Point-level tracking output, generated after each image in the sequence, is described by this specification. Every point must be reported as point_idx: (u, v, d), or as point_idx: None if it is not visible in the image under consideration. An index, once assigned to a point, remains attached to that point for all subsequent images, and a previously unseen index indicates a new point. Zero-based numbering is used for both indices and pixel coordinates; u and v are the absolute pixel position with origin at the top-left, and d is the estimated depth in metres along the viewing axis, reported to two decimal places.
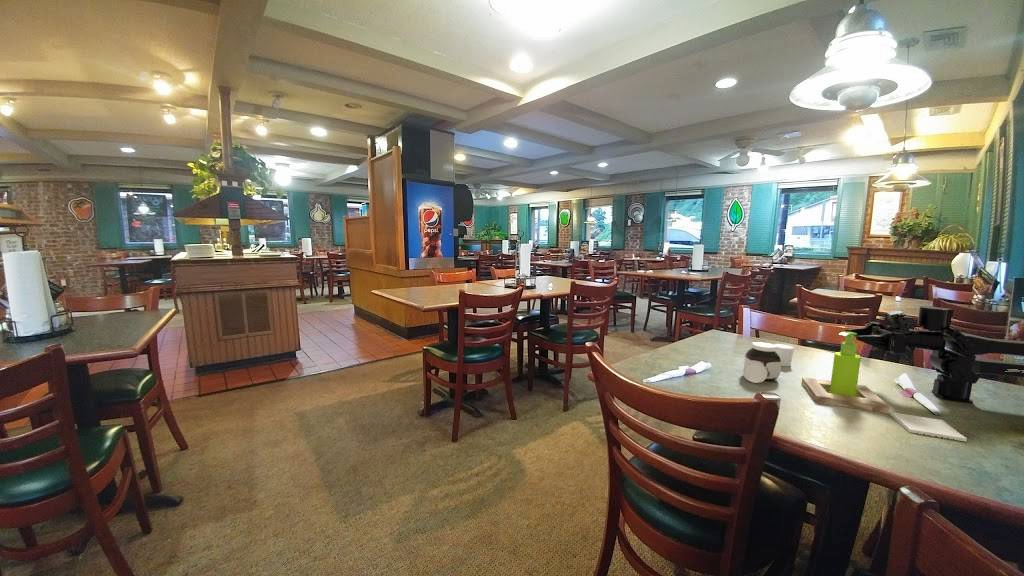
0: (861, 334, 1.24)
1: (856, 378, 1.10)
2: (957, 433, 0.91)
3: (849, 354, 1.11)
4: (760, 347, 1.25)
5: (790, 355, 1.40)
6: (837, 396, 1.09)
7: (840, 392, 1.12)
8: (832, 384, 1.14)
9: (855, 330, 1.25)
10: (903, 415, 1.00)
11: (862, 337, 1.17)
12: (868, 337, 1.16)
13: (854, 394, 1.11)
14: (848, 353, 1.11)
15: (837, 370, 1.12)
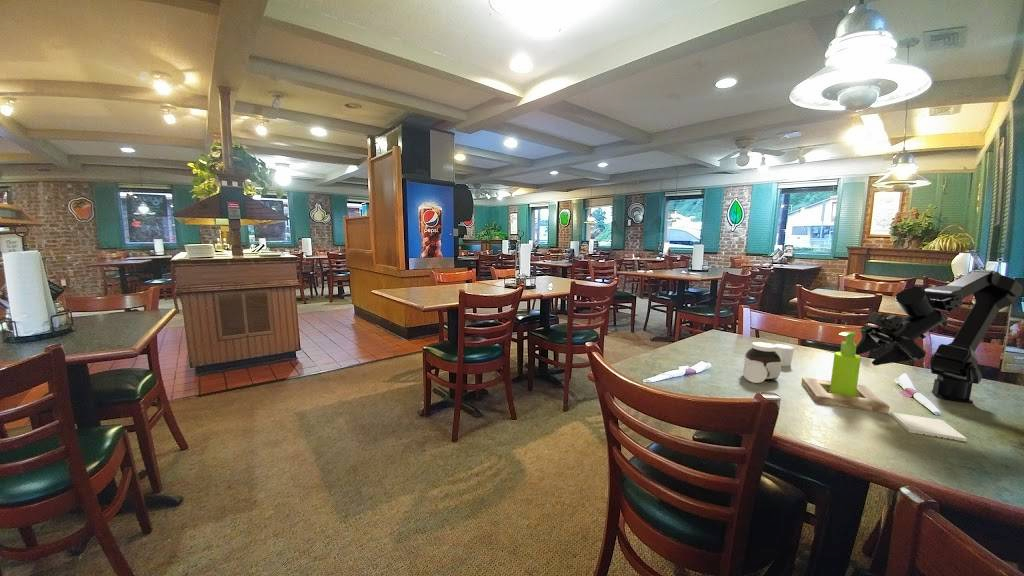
0: (868, 347, 1.14)
1: (856, 378, 1.10)
2: (957, 433, 0.91)
3: (849, 354, 1.11)
4: (760, 347, 1.25)
5: (790, 355, 1.40)
6: (837, 396, 1.09)
7: (840, 392, 1.12)
8: (832, 384, 1.14)
9: (860, 347, 1.15)
10: (903, 415, 1.00)
11: (877, 361, 1.06)
12: (882, 357, 1.05)
13: (854, 394, 1.11)
14: (848, 353, 1.11)
15: (837, 370, 1.12)
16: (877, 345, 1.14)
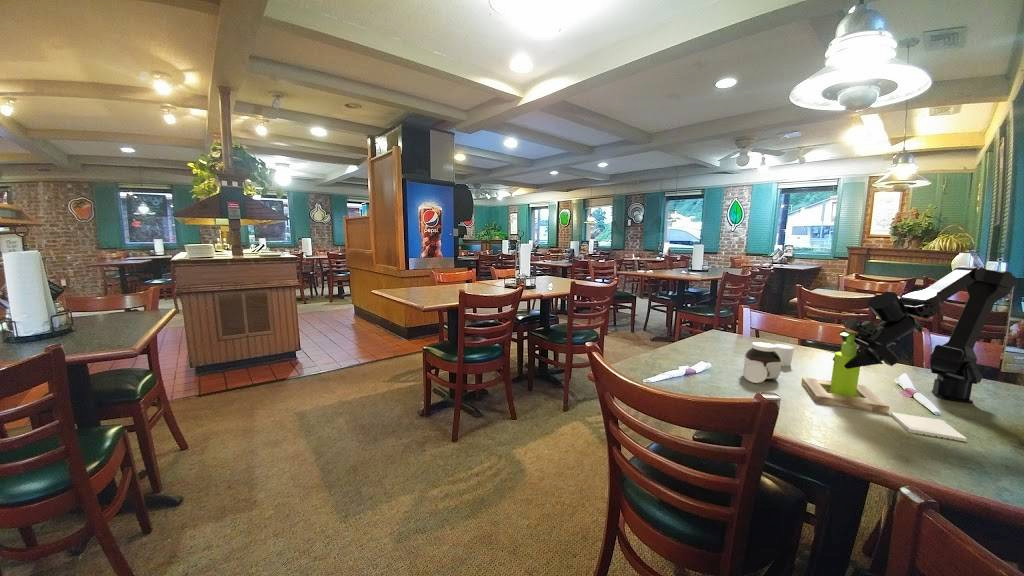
0: None
1: (856, 378, 1.10)
2: (957, 433, 0.91)
3: (850, 354, 1.10)
4: (760, 347, 1.25)
5: (790, 355, 1.39)
6: (837, 396, 1.09)
7: (841, 392, 1.12)
8: (832, 384, 1.14)
9: None
10: (903, 415, 1.00)
11: (849, 364, 1.09)
12: (854, 361, 1.08)
13: (854, 394, 1.11)
14: (849, 353, 1.10)
15: (838, 370, 1.12)
16: (857, 351, 1.14)
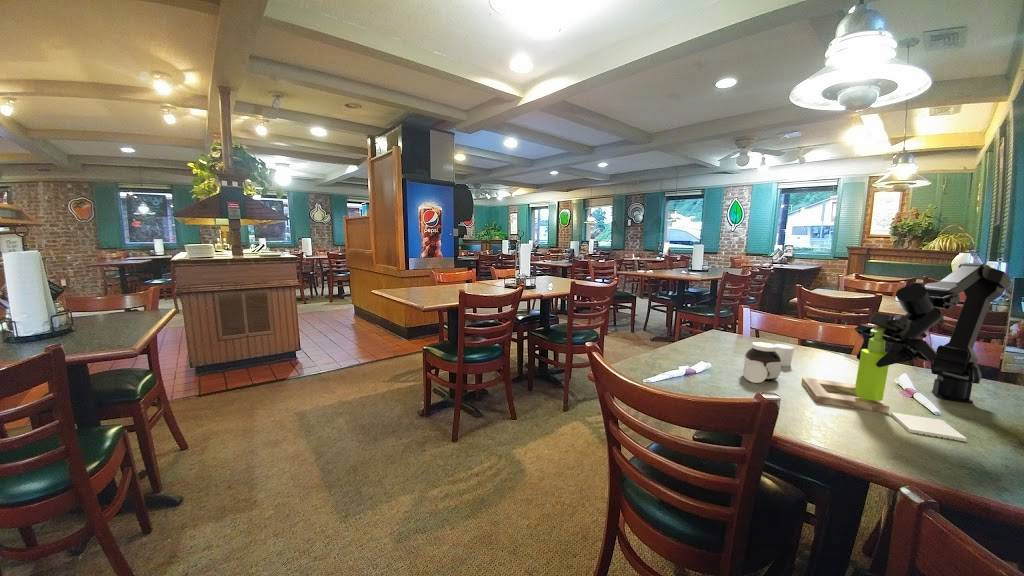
0: None
1: (886, 376, 1.03)
2: (957, 433, 0.91)
3: (879, 351, 1.03)
4: (760, 347, 1.25)
5: (790, 355, 1.39)
6: (837, 396, 1.09)
7: (871, 392, 1.04)
8: (860, 384, 1.06)
9: None
10: (903, 415, 1.00)
11: (882, 362, 1.01)
12: (887, 359, 1.01)
13: (883, 393, 1.04)
14: (879, 350, 1.03)
15: (867, 369, 1.04)
16: None
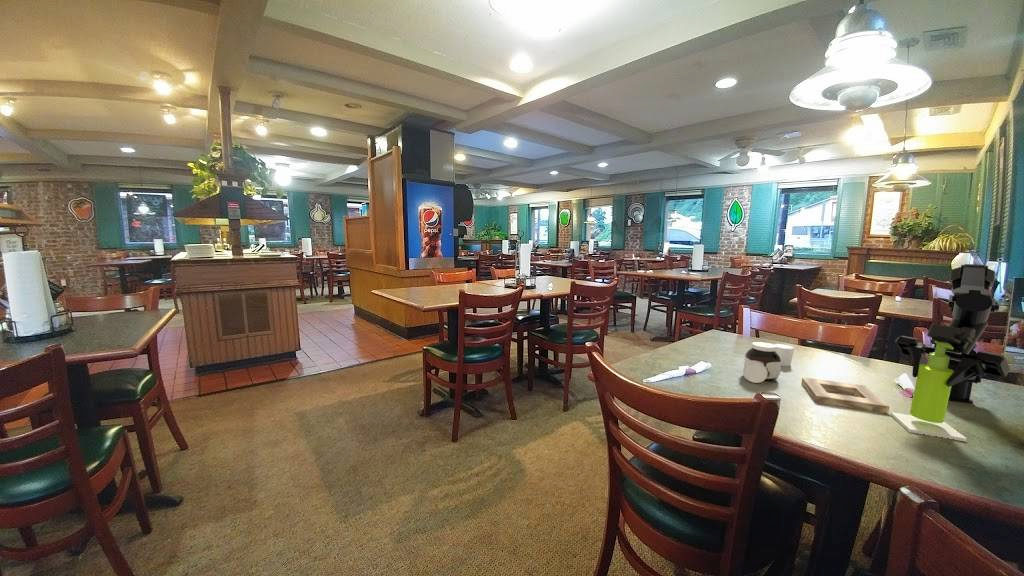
0: None
1: None
2: (957, 433, 0.91)
3: (945, 368, 0.92)
4: (760, 347, 1.25)
5: (790, 355, 1.39)
6: (837, 396, 1.09)
7: (937, 414, 0.93)
8: (923, 406, 0.94)
9: (918, 367, 0.97)
10: (903, 415, 1.00)
11: (953, 381, 0.90)
12: (957, 377, 0.90)
13: None
14: (945, 367, 0.92)
15: (934, 389, 0.92)
16: (926, 361, 0.98)
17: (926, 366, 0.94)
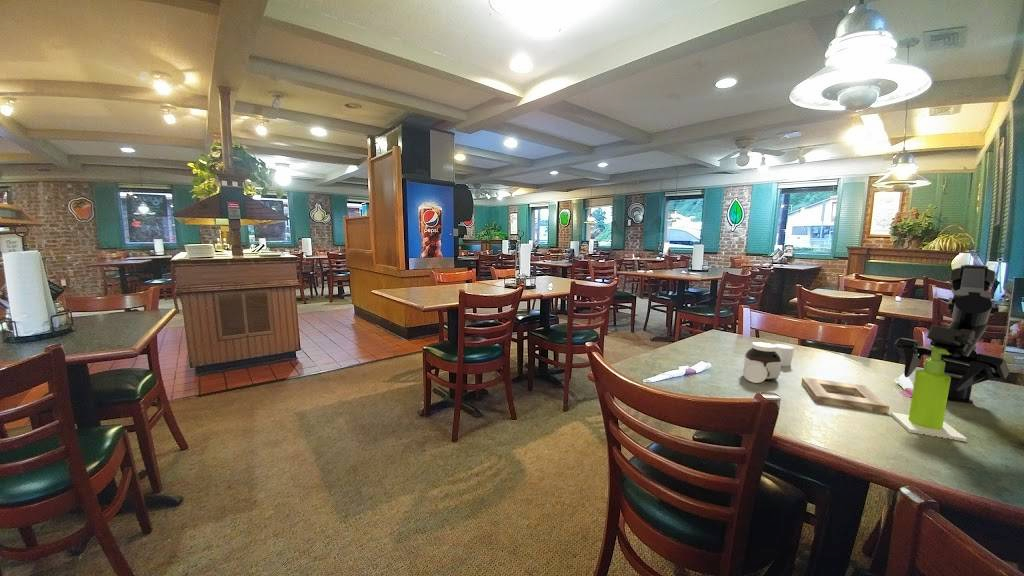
0: (914, 365, 0.99)
1: None
2: (957, 433, 0.91)
3: (942, 374, 0.93)
4: (760, 347, 1.25)
5: (790, 355, 1.39)
6: (837, 396, 1.09)
7: (936, 420, 0.93)
8: (922, 412, 0.95)
9: (910, 367, 0.98)
10: (903, 415, 1.00)
11: (962, 385, 0.89)
12: (967, 381, 0.89)
13: None
14: (941, 372, 0.93)
15: (931, 394, 0.93)
16: (918, 361, 1.00)
17: (923, 372, 0.95)
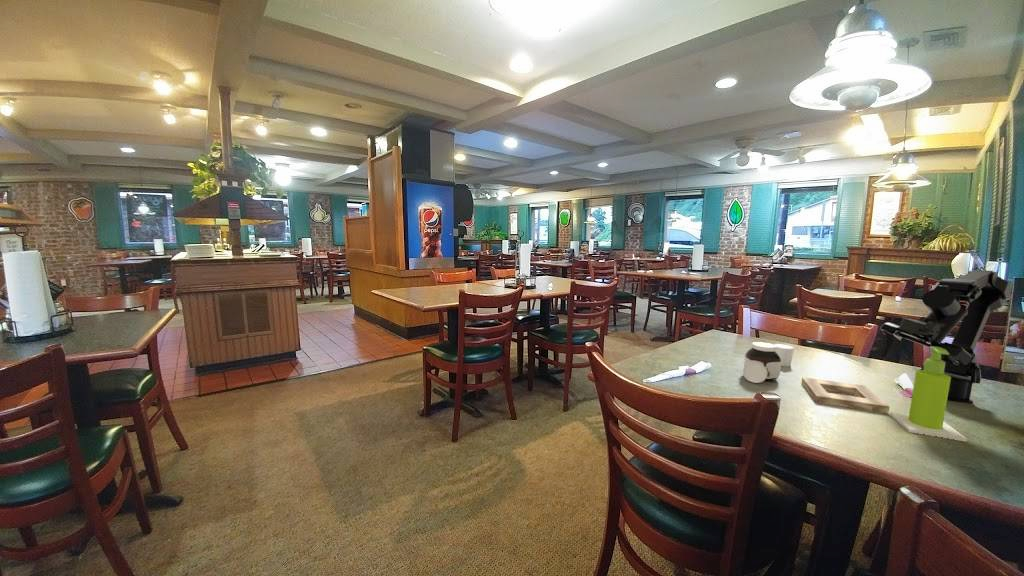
0: (895, 347, 1.11)
1: None
2: (957, 433, 0.91)
3: (941, 374, 0.93)
4: (760, 347, 1.25)
5: (790, 355, 1.39)
6: (837, 396, 1.09)
7: (936, 420, 0.93)
8: (922, 412, 0.95)
9: (889, 351, 1.11)
10: (903, 415, 1.00)
11: None
12: None
13: None
14: (941, 372, 0.93)
15: (931, 394, 0.93)
16: (901, 343, 1.11)
17: (923, 372, 0.95)
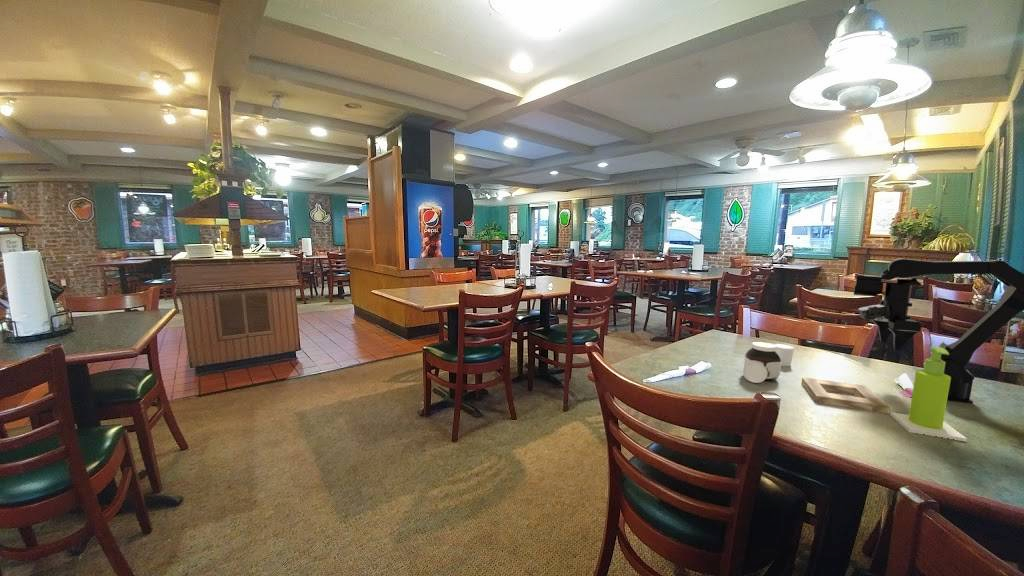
0: (887, 330, 1.25)
1: None
2: (957, 433, 0.91)
3: (942, 374, 0.93)
4: (760, 347, 1.25)
5: (790, 355, 1.39)
6: (837, 396, 1.09)
7: (936, 420, 0.93)
8: (922, 412, 0.95)
9: (882, 334, 1.25)
10: (903, 415, 1.00)
11: (896, 346, 1.17)
12: (896, 342, 1.16)
13: None
14: (941, 372, 0.93)
15: (931, 394, 0.93)
16: None
17: (923, 372, 0.95)
